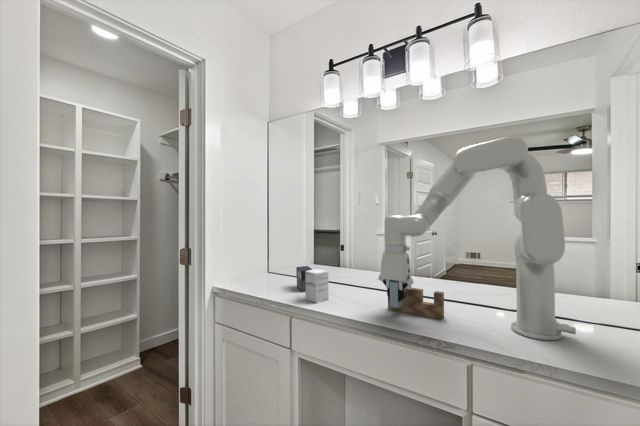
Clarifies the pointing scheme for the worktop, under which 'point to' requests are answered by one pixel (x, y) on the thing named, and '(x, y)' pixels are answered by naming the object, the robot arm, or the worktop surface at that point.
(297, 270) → the small box
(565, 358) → the worktop surface
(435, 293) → the notched board
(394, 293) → the crosspiece
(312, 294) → the supplement box
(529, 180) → the robot arm
